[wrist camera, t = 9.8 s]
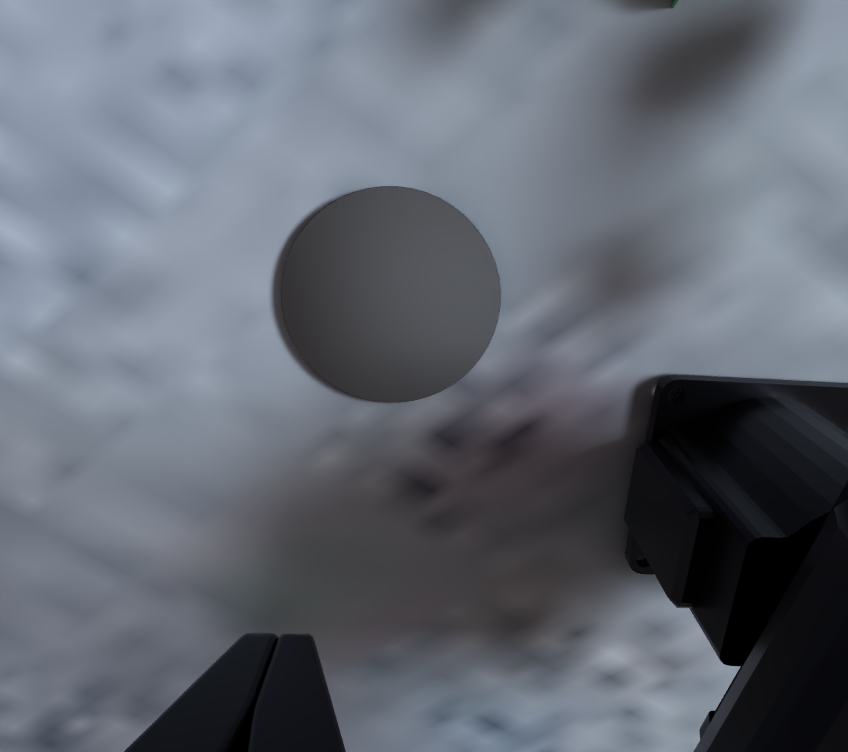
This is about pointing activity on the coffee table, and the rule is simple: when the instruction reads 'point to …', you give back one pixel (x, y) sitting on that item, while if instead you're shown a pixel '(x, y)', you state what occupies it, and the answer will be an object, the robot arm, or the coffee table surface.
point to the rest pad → (390, 294)
